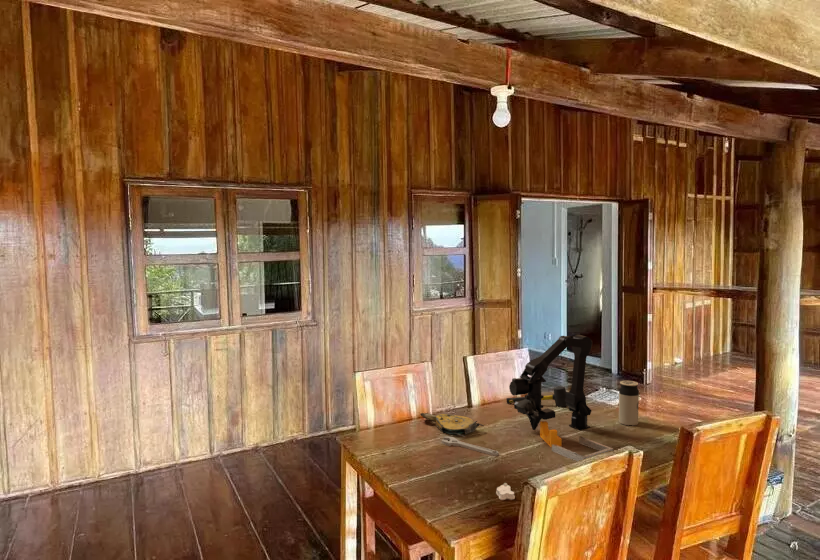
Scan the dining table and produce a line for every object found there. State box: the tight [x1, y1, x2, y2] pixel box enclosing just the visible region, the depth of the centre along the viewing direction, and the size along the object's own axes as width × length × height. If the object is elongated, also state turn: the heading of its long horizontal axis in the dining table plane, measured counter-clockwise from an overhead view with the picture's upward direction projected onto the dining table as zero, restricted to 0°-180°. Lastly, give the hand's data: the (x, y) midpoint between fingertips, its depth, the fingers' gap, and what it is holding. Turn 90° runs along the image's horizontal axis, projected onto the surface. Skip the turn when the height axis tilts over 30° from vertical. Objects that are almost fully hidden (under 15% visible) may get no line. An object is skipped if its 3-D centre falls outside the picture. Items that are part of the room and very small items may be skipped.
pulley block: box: [419, 412, 485, 438], centre depth 234 cm, size 14×6×30 cm
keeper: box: [551, 436, 614, 462], centre depth 205 cm, size 16×15×2 cm
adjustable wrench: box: [441, 436, 499, 457], centre depth 210 cm, size 25×6×2 cm, turn 48°
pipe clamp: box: [539, 420, 563, 448], centre depth 217 cm, size 12×4×6 cm, turn 7°
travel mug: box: [618, 380, 640, 426], centre depth 238 cm, size 8×8×18 cm
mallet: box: [506, 385, 568, 408], centre depth 266 cm, size 29×6×10 cm, turn 80°
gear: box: [495, 482, 516, 501], centre depth 172 cm, size 9×9×2 cm
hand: (534, 429), depth 226 cm, fingers closed
